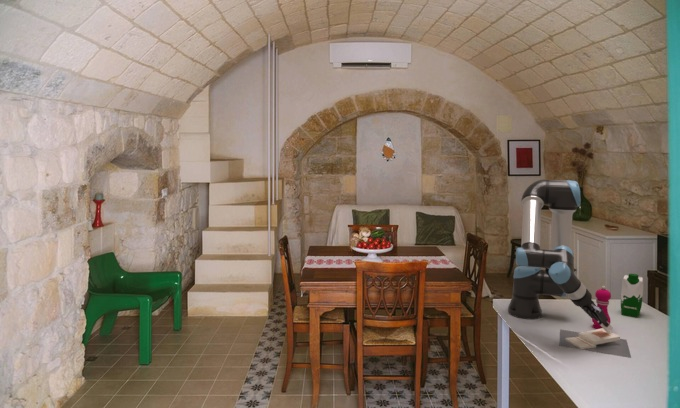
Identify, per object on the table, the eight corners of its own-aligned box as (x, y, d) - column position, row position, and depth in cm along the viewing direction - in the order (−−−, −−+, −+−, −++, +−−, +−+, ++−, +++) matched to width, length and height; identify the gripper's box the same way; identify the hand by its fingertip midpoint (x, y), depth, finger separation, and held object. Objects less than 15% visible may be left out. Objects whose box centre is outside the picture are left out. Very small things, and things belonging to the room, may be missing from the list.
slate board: (560, 331, 211) (560, 329, 210) (626, 341, 200) (626, 339, 200) (558, 348, 194) (559, 345, 193) (631, 360, 183) (631, 357, 183)
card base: (581, 349, 190) (581, 346, 190) (565, 339, 199) (565, 337, 199) (595, 347, 192) (596, 345, 192) (579, 338, 201) (579, 336, 201)
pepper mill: (612, 333, 208) (615, 288, 206) (594, 332, 210) (597, 287, 207) (606, 327, 215) (610, 284, 213) (589, 326, 217) (592, 283, 214)
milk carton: (619, 315, 231) (622, 274, 229) (620, 309, 239) (623, 270, 236) (640, 318, 227) (644, 277, 224) (641, 313, 234) (644, 273, 232)
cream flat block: (595, 341, 192) (620, 336, 194) (578, 332, 200) (602, 327, 203) (595, 344, 192) (620, 339, 195) (578, 336, 201) (602, 331, 203)
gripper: (560, 295, 198) (591, 330, 204) (583, 305, 186) (616, 342, 192) (572, 281, 199) (602, 317, 205) (596, 291, 186) (628, 328, 193)
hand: (609, 329), depth 198 cm, fingers closed
